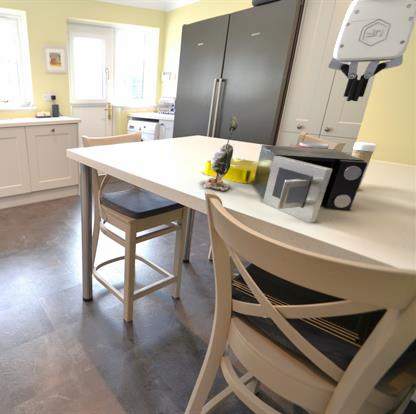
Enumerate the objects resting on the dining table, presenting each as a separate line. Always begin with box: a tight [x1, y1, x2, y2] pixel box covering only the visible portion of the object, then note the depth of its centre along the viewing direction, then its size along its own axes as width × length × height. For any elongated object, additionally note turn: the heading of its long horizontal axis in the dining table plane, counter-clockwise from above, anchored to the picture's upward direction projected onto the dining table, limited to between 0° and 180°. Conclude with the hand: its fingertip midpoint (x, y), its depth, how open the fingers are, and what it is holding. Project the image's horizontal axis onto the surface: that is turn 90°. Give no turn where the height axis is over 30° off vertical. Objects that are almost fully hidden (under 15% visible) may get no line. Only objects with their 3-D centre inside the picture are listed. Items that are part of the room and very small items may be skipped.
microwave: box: [252, 144, 367, 212], centre depth 73 cm, size 16×18×12 cm
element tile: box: [203, 156, 258, 184], centre depth 94 cm, size 15×15×5 cm
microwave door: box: [262, 156, 332, 223], centre depth 63 cm, size 8×13×12 cm, turn 17°
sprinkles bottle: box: [350, 141, 377, 192], centre depth 81 cm, size 5×5×14 cm
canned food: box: [298, 141, 330, 149], centre depth 93 cm, size 8×8×11 cm
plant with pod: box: [201, 115, 239, 192], centre depth 79 cm, size 8×11×20 cm
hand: (351, 100), depth 56 cm, fingers closed
